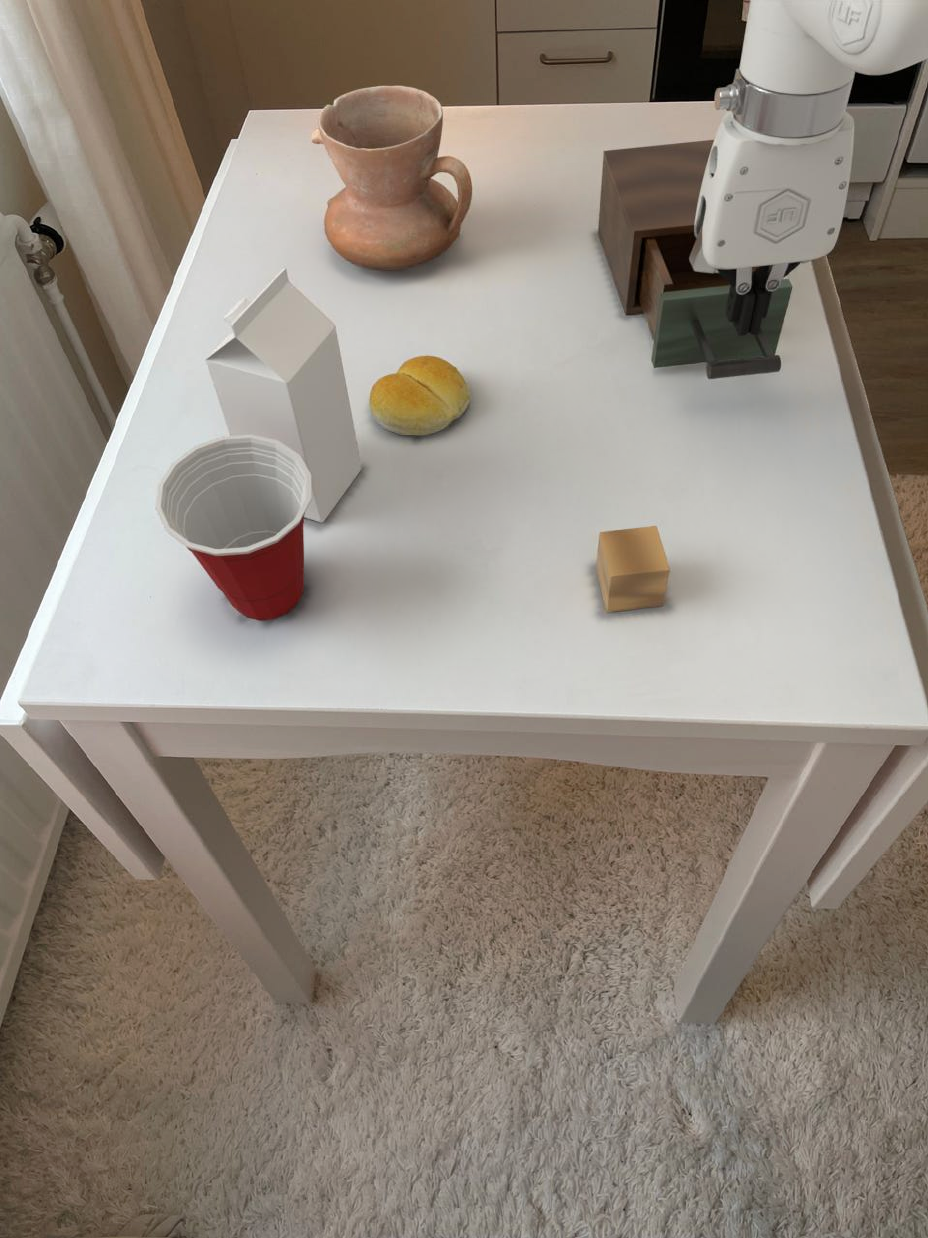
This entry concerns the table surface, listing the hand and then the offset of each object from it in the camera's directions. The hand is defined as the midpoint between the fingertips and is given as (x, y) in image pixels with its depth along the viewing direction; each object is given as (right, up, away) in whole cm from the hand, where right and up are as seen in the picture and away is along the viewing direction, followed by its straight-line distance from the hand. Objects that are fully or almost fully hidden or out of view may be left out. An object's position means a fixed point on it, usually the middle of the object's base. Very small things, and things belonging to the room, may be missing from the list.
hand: (743, 324), depth 80 cm
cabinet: (-2, +12, +19) cm, 22 cm away
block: (-11, -22, -6) cm, 25 cm away
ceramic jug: (-30, +15, +23) cm, 41 cm away
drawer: (-1, +2, +10) cm, 10 cm away
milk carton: (-37, -13, +3) cm, 39 cm away
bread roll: (-27, -5, +8) cm, 29 cm away
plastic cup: (-39, -23, -4) cm, 45 cm away
